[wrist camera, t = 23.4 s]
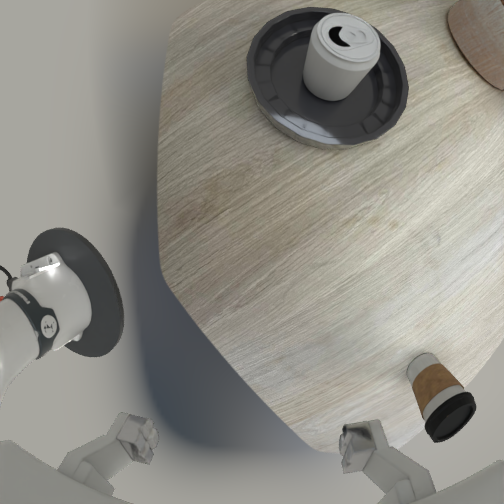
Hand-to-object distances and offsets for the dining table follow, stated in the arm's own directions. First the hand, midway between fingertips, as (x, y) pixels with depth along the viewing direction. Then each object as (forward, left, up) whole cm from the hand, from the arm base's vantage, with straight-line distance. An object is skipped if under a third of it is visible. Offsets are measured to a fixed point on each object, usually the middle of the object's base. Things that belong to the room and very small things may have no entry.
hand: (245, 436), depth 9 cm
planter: (+40, +37, -27) cm, 61 cm away
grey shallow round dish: (+8, +23, -26) cm, 36 cm away
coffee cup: (+26, -20, -27) cm, 42 cm away
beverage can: (+8, +23, -26) cm, 35 cm away
